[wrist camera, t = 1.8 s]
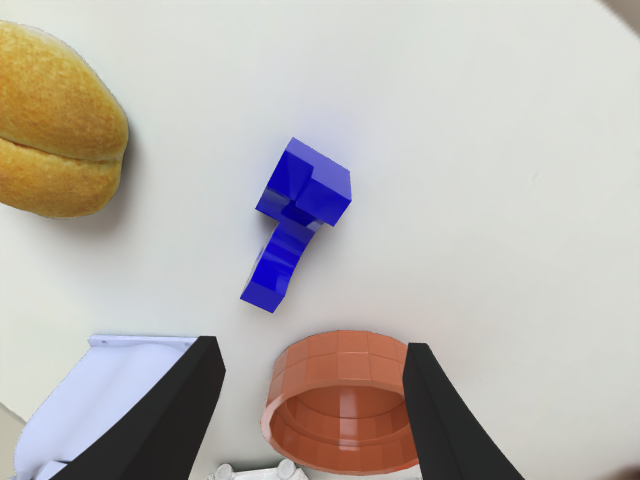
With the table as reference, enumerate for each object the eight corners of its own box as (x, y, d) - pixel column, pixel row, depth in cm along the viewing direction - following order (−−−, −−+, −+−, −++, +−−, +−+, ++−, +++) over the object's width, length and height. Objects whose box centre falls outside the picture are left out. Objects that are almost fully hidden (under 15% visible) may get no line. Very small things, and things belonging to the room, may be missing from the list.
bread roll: (147, 78, 14) (88, 83, 11) (122, 220, 19) (73, 256, 15) (-44, -23, 13) (-183, -53, 9) (-24, 158, 17) (-114, 183, 14)
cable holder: (292, 137, 15) (279, 159, 12) (349, 171, 16) (351, 200, 13) (236, 246, 19) (213, 286, 16) (284, 269, 20) (272, 313, 17)
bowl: (281, 417, 30) (272, 470, 26) (263, 321, 23) (247, 375, 19) (417, 423, 29) (429, 479, 25) (443, 326, 22) (465, 383, 18)
